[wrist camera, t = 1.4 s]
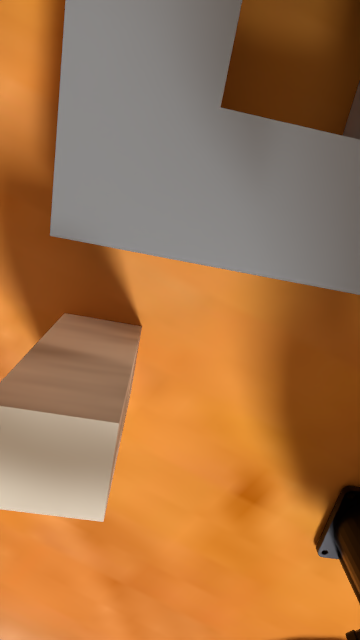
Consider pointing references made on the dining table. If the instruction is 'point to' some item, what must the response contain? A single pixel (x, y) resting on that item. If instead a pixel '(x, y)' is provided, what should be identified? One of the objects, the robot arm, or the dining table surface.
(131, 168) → the socket block
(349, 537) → the robot arm
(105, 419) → the birch peg
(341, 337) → the dining table surface
